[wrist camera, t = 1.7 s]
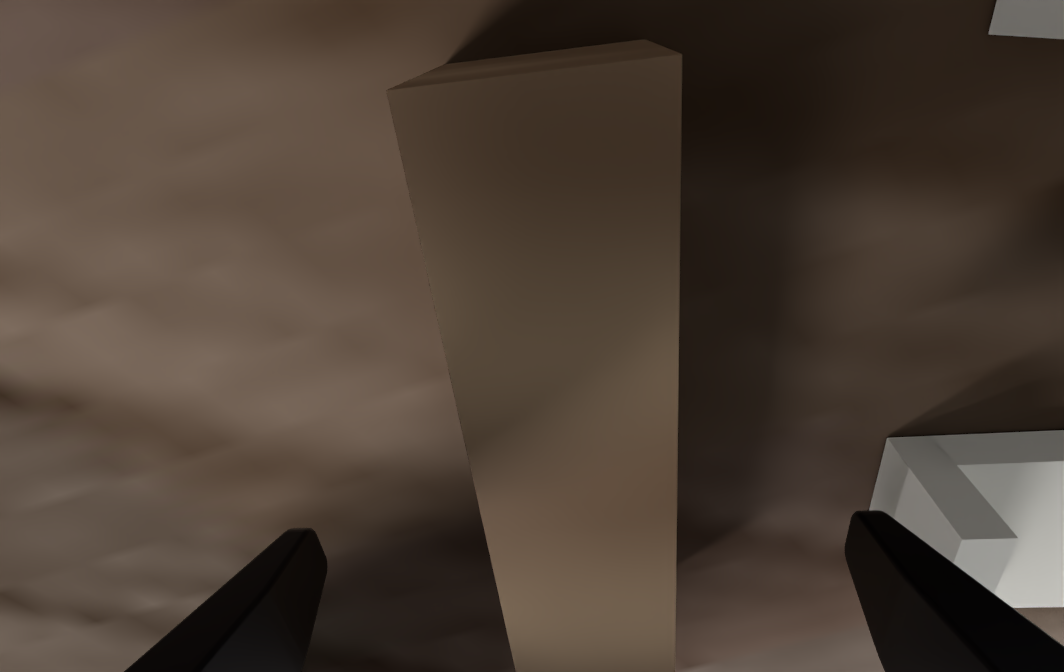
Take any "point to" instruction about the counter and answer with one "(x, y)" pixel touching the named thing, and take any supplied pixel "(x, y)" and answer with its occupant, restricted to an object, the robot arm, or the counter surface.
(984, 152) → the counter surface
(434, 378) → the counter surface
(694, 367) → the counter surface
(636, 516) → the rail
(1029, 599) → the rail brackets
